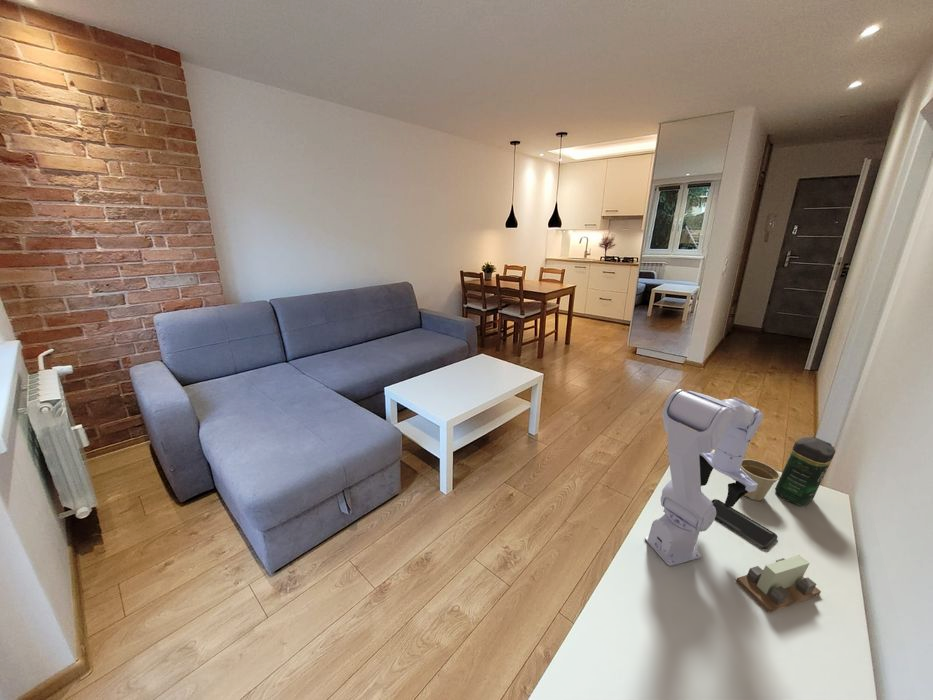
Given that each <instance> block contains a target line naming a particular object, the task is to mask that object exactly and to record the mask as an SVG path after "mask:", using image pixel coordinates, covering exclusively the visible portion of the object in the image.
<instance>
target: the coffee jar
mask: <svg viewBox="0 0 933 700" xmlns="http://www.w3.org/2000/svg"><path fill="white" fill-rule="evenodd" d="M790 451H791V452H790V454H789V456H788V458H787V461H786V463H785V465H784V468H783V469H782V473H781V474H780V479H779V480H777V483H776V486H775V488H774V490H775V493H776V494H778V495H779V496H780V497H781V498H783V499H784V500H786V501H788V502H790V503H793V504H795V505H798V506H806V505H809V504H811V502H813V500H814V498H815V496H816V494H817V492H818V490H819V488H820V486H821V484H822V481H823V479H824V477H825V474H826V473H827V471H828V469H829V466H831V465H830V464H831V463H832V460H833V458H834V456H835V454H836V449H835V447H834V446H833V445H832V443H830V442H827V441H826V440H823V439H820V438H818V437H815V436H812V437H811V436H809V437H808V436H807V437H802V438H800V439H798V440H796V441H795V442H794V444H793V447H792V449H791V450H790Z"/></svg>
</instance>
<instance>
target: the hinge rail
mask: <svg viewBox="0 0 933 700" xmlns="http://www.w3.org/2000/svg"><path fill="white" fill-rule="evenodd" d="M785 559H786V558H785V557H784V558H780V559H777V560H775V562H778V561H781V560H785ZM763 570H764V569H762V568H761V567H760V566H759V565H756V566H753V567H750V568H749V570H748V572H747V574H745V575H741V576H739V577H736V580H735V582H736V583H737V584H738V585H739V586H740V587H741V588H742V589H743V590H744V591H745V592H747V593H748V594H749V595H750V596H751V598H753V599H754V600H755V601H756V602H757V603H758V604H759V605H760V606H761V607H762V608H763V609H764V610H766V612H767V613H771V612H775V611H777V610H781V609H783V608H786V607H788V606H791V605H795V604H797V603H800V602H803V601H805V600H809V599H811V598H814V597H817V596H820V594H821V592H822V591H821V590H820V589H819V588H818V587H816V586H817V583H816V582H815V581H813V580H812V579H811V578H810V577H809V576H808V577H805V576H803V578H802V579H801V580H800V581H799V583H798V584H797V585H794V586H791V587H788V588H783V587H782V586H780V587H777V588H774V589H773V590H772V592H771V593H769V594H765V593H764V592H763V591H762V590H761V589H759V588H758V587H757V584H758V581H759V579H760V577H761V575H762V572H763Z"/></svg>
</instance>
